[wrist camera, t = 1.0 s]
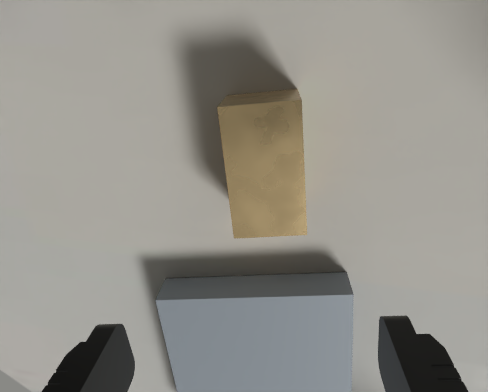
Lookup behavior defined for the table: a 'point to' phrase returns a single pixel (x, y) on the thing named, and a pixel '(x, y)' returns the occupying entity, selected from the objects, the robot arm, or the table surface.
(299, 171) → the tan rectangular block
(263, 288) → the slate board
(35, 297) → the table surface
